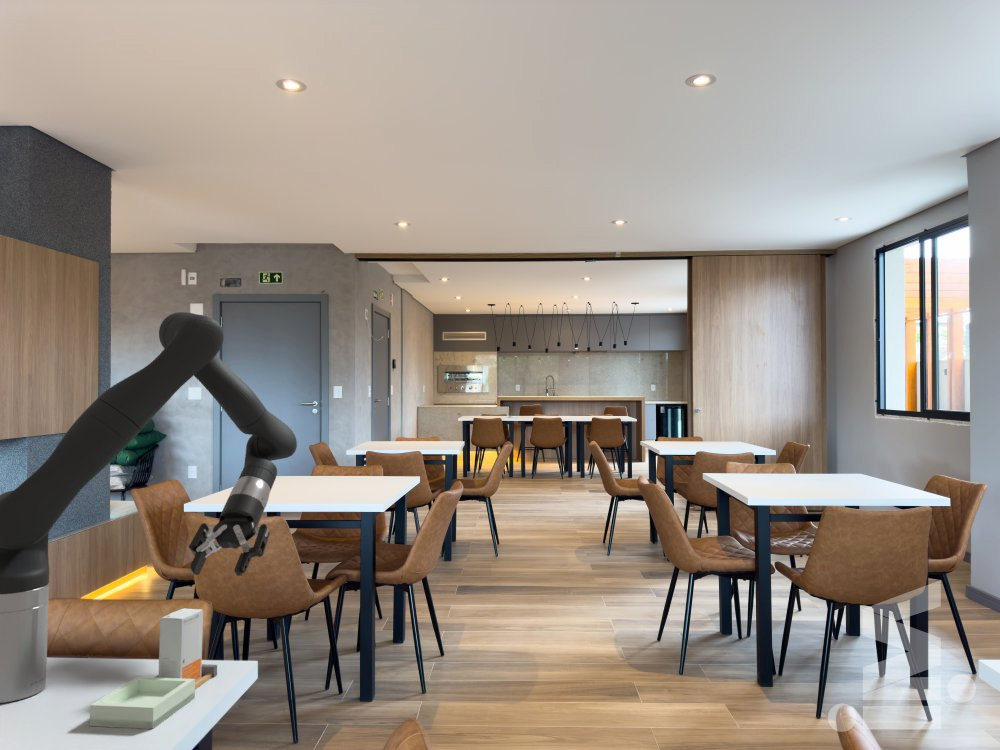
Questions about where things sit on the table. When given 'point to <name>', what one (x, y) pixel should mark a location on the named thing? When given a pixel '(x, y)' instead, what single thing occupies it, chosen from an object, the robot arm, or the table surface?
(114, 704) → the parts tray
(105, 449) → the robot arm
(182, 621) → the skincare box
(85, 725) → the table surface
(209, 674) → the grey shallow square tray
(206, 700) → the table surface
